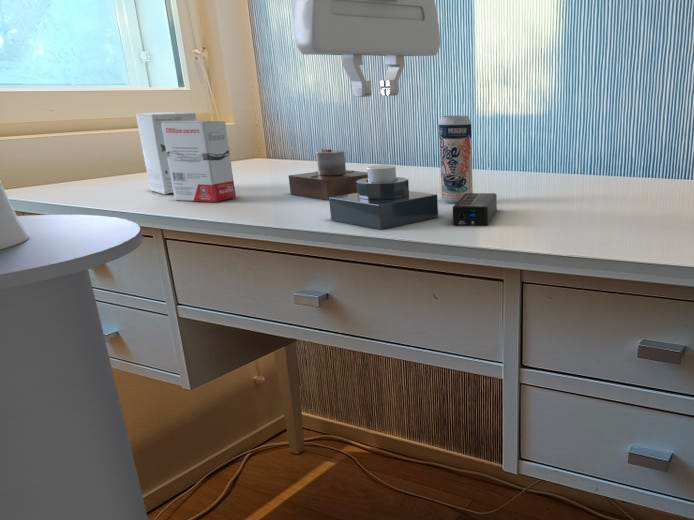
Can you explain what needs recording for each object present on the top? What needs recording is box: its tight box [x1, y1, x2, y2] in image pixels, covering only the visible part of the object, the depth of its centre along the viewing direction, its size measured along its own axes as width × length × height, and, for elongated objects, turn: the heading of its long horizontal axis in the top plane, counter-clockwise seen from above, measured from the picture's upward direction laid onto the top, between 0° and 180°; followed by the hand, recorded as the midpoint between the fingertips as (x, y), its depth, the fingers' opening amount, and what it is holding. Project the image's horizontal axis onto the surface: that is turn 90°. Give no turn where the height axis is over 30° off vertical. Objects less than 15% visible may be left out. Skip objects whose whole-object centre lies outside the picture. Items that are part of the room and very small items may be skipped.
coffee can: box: [438, 115, 474, 204], centre depth 100 cm, size 5×5×12 cm
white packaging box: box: [135, 111, 197, 195], centre depth 116 cm, size 7×7×13 cm
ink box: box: [161, 120, 237, 203], centre depth 106 cm, size 8×5×12 cm, turn 68°
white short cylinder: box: [366, 164, 397, 182], centre depth 88 cm, size 4×4×2 cm
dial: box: [315, 148, 347, 176], centre depth 110 cm, size 4×4×4 cm
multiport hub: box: [452, 192, 498, 227], centre depth 90 cm, size 4×11×2 cm, turn 173°
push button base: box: [328, 176, 439, 230], centre depth 89 cm, size 10×10×5 cm
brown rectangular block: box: [288, 169, 368, 201], centre depth 112 cm, size 10×10×3 cm
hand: (376, 96), depth 85 cm, fingers open, 3 cm apart
